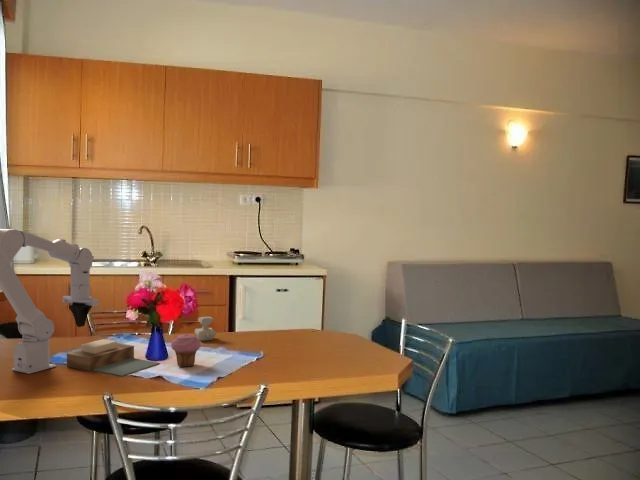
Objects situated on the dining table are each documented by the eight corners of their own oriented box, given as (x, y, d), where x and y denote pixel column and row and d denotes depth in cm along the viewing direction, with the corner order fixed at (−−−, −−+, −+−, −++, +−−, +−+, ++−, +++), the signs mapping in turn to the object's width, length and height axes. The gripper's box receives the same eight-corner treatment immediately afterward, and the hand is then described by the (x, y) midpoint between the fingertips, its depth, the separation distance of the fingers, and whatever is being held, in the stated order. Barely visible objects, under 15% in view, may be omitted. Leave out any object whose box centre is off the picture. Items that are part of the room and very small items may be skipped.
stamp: (193, 337, 225) (193, 315, 225) (210, 336, 228) (211, 314, 228) (199, 343, 217) (199, 320, 217) (217, 341, 220) (217, 319, 219)
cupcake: (171, 369, 182) (172, 337, 181) (170, 362, 190) (170, 331, 190) (201, 368, 184) (201, 336, 184) (199, 361, 193) (199, 330, 192)
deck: (89, 371, 179) (89, 358, 179) (66, 366, 183) (66, 353, 183) (134, 357, 195) (134, 345, 195) (111, 353, 199) (111, 342, 199)
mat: (121, 376, 174) (121, 375, 174) (92, 370, 180) (92, 369, 180) (159, 363, 188) (159, 362, 188) (131, 358, 194) (131, 357, 194)
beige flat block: (94, 353, 184) (94, 347, 184) (80, 350, 187) (80, 344, 187) (116, 347, 192) (116, 341, 192) (103, 345, 195) (103, 339, 195)
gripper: (106, 284, 192) (106, 326, 193) (74, 281, 199) (75, 321, 200) (88, 287, 186) (88, 330, 187) (56, 283, 193) (57, 325, 194)
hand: (80, 326), depth 193 cm, fingers closed
